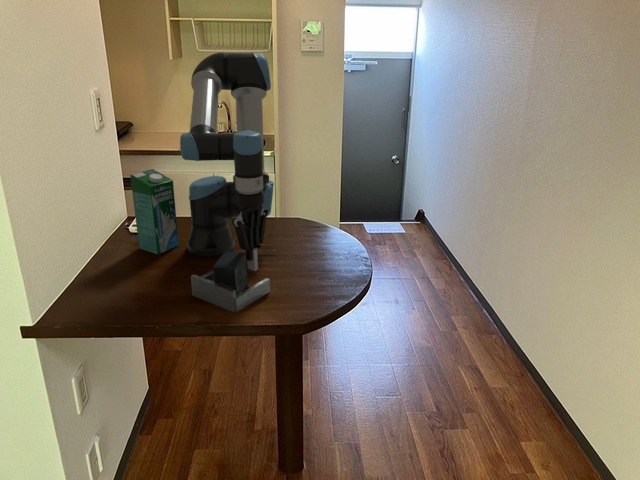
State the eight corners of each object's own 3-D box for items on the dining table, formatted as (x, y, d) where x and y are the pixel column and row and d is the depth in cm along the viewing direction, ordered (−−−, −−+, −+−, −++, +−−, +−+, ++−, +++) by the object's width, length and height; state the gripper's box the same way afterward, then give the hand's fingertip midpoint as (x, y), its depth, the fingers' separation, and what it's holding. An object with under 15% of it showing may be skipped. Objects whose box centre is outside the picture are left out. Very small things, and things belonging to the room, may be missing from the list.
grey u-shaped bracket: (190, 294, 145) (189, 275, 143) (226, 276, 156) (225, 257, 153) (235, 313, 136) (234, 292, 134) (270, 291, 147) (269, 272, 145)
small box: (226, 283, 152) (224, 249, 148) (248, 285, 151) (247, 251, 147) (214, 301, 142) (211, 265, 138) (237, 303, 141) (235, 267, 137)
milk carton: (158, 254, 169) (150, 179, 159) (138, 248, 173) (129, 174, 164) (179, 245, 176) (172, 172, 166) (160, 239, 180) (152, 168, 171)
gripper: (244, 198, 135) (247, 280, 145) (275, 186, 145) (277, 264, 154) (222, 193, 139) (227, 273, 148) (254, 182, 149) (257, 258, 158)
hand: (252, 269), depth 151 cm, fingers closed
